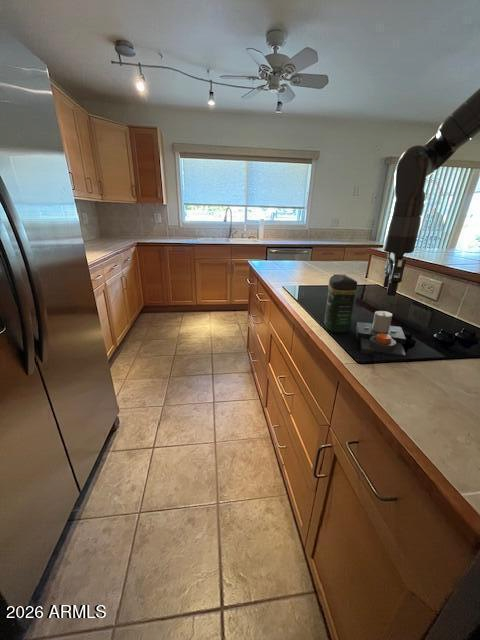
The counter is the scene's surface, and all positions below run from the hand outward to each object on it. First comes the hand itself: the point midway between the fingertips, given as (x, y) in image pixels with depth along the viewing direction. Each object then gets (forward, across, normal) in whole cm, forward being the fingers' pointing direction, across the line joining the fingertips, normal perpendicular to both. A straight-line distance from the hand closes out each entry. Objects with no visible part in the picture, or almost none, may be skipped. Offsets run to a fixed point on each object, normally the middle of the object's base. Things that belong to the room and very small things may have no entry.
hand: (388, 291), depth 77 cm
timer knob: (+13, 0, 0) cm, 13 cm away
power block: (+16, -8, 0) cm, 18 cm away
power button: (+13, -8, 0) cm, 15 cm away
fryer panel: (+16, 0, 0) cm, 16 cm away
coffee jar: (+16, +4, +13) cm, 21 cm away
